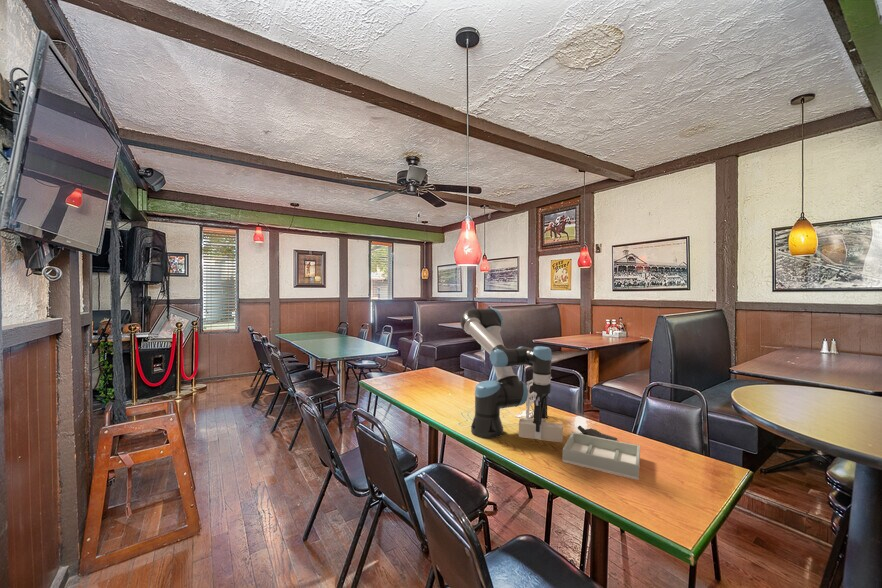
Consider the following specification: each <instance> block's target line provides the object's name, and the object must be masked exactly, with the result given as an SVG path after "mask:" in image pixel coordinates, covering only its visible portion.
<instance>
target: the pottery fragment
mask: <svg viewBox="0 0 882 588" xmlns="http://www.w3.org/2000/svg"><path fill="white" fill-rule="evenodd" d="M577 430H578V431H579V432H580V434H584V435H589V436H594V437H599V438H604V439H609V440H614V441H618V438H617V437H615V436H611V435H609V434H604V433H602V432H601V431H598V430H597V429H595V428H583V426H582V425H578V426H577Z"/></svg>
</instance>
